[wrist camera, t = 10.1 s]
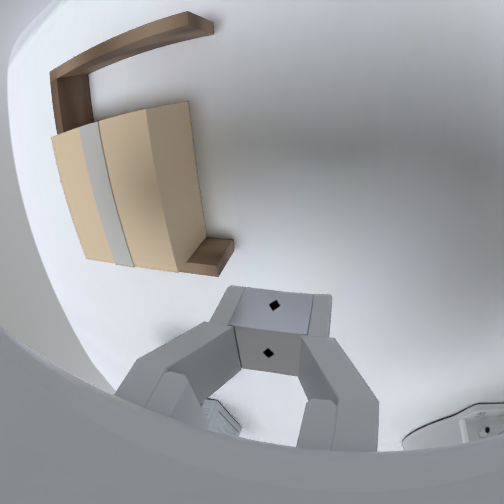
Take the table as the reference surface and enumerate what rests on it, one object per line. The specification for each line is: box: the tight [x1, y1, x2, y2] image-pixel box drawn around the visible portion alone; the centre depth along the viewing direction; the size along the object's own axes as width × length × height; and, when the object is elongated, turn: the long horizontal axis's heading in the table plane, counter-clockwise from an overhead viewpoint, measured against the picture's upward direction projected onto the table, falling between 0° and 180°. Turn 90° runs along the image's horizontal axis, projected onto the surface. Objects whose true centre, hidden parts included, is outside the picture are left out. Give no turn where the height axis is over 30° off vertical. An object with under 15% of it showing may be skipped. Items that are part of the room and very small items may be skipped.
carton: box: [51, 101, 207, 273], centre depth 16 cm, size 8×9×5 cm
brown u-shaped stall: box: [50, 11, 234, 277], centre depth 15 cm, size 11×15×3 cm
